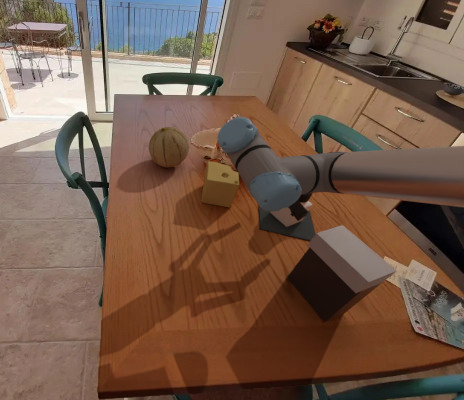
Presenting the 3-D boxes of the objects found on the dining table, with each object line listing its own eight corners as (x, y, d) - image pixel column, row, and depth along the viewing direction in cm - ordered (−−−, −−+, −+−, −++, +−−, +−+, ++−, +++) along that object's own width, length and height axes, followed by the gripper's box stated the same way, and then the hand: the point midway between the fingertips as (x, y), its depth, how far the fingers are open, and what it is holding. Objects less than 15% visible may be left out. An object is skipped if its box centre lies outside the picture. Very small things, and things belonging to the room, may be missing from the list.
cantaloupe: (191, 172, 100) (199, 136, 90) (154, 177, 96) (157, 140, 86) (177, 151, 110) (182, 117, 100) (143, 155, 107) (145, 120, 97)
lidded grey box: (319, 324, 60) (368, 282, 48) (282, 279, 68) (316, 232, 56) (343, 314, 62) (397, 270, 50) (304, 271, 70) (342, 224, 58)
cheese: (231, 189, 94) (239, 165, 87) (231, 209, 86) (240, 186, 79) (201, 183, 95) (207, 160, 88) (199, 203, 87) (205, 179, 80)
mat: (317, 242, 77) (317, 241, 77) (259, 229, 80) (260, 228, 80) (307, 206, 89) (308, 205, 89) (258, 195, 92) (258, 194, 91)
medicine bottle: (302, 220, 83) (321, 191, 75) (286, 227, 81) (304, 198, 72) (284, 206, 88) (301, 177, 80) (268, 212, 85) (283, 182, 77)
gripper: (218, 150, 73) (247, 183, 87) (282, 212, 56) (305, 241, 70) (240, 130, 70) (266, 167, 85) (313, 188, 53) (330, 223, 68)
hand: (284, 200), depth 77 cm, fingers open, 13 cm apart
